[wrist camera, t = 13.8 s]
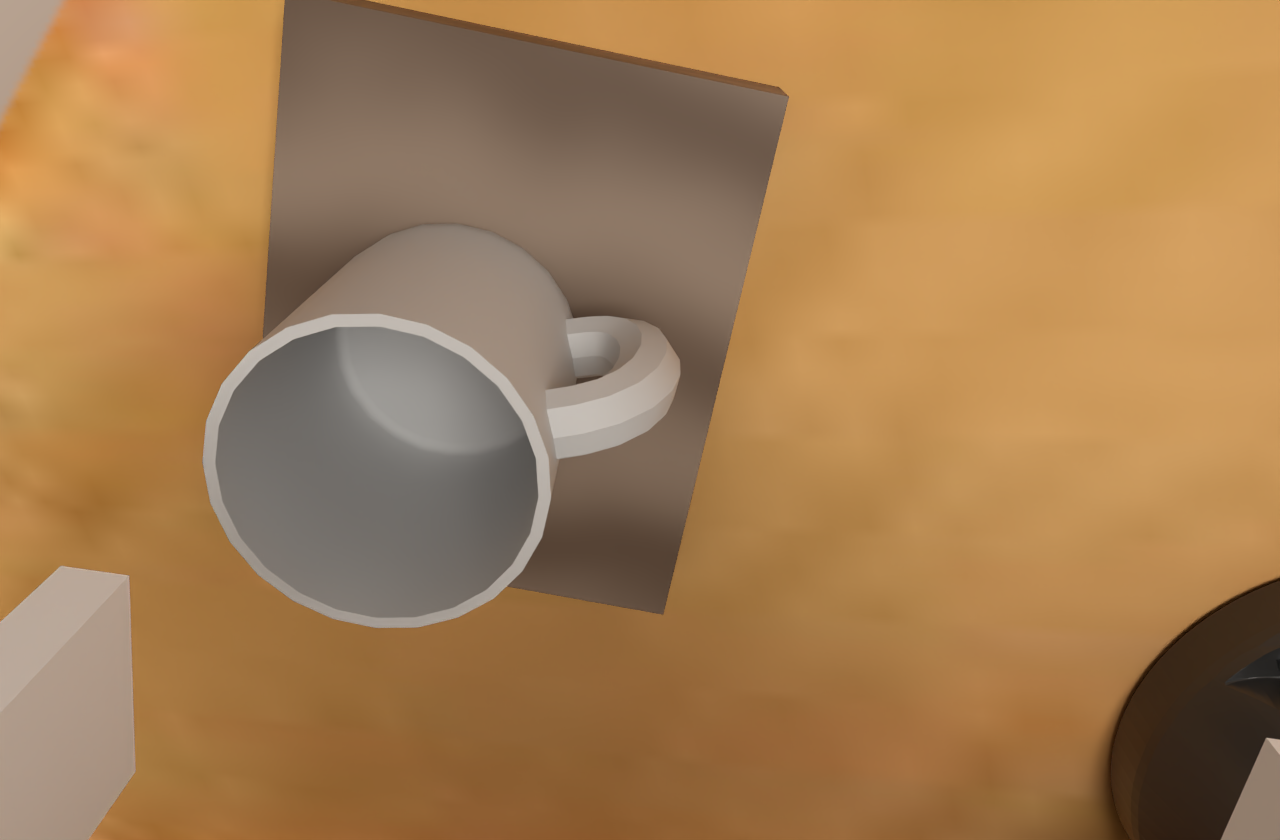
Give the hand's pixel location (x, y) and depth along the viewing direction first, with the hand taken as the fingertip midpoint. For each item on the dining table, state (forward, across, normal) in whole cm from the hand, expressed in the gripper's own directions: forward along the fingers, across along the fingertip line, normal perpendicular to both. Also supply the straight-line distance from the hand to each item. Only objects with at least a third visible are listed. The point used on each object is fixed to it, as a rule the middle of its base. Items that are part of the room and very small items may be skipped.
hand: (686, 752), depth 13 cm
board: (+21, +5, +2) cm, 22 cm away
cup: (+19, +5, +2) cm, 20 cm away
